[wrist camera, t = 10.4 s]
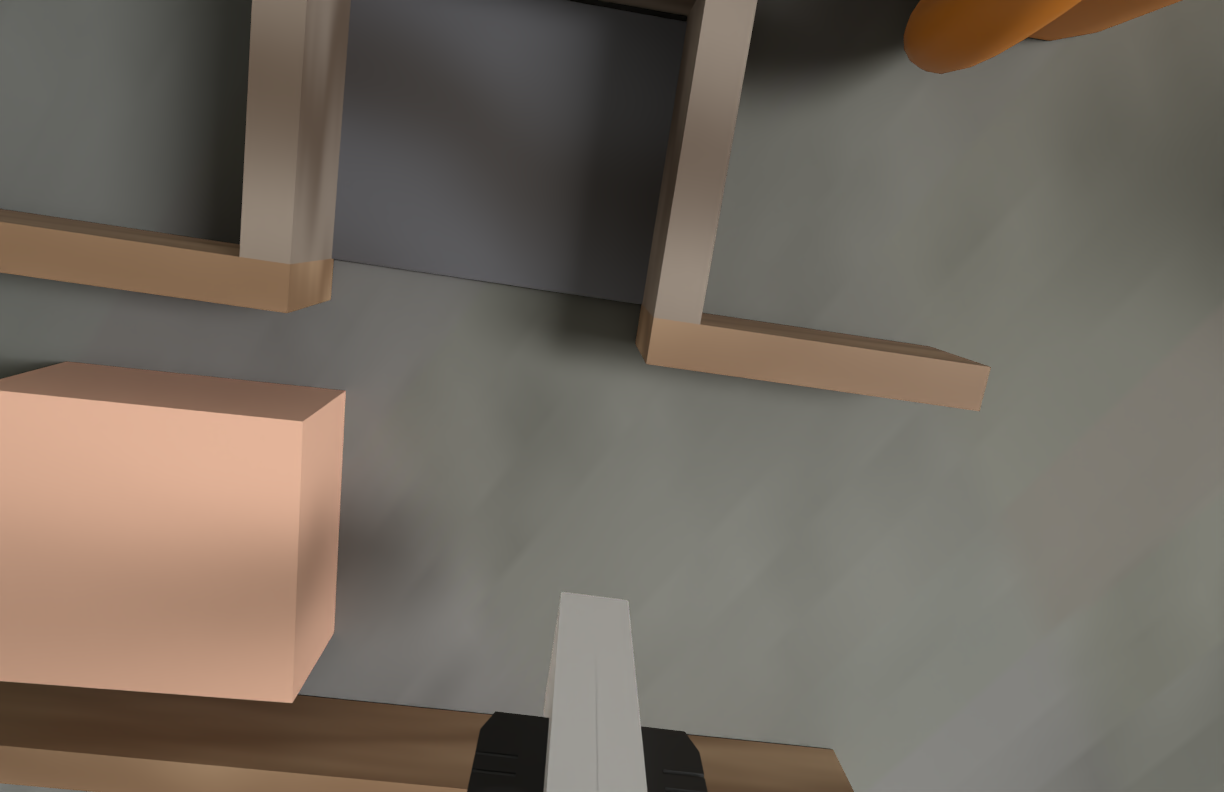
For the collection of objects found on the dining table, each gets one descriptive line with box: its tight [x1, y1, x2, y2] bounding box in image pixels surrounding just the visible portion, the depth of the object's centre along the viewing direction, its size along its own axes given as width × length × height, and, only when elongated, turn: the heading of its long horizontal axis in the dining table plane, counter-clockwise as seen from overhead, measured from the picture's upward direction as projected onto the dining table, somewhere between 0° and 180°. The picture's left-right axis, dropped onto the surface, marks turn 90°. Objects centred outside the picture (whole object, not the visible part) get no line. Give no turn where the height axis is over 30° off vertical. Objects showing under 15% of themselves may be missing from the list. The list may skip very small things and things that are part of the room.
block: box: [0, 362, 346, 703], centre depth 22 cm, size 8×8×4 cm
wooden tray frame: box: [0, 0, 991, 792], centre depth 21 cm, size 25×30×4 cm
